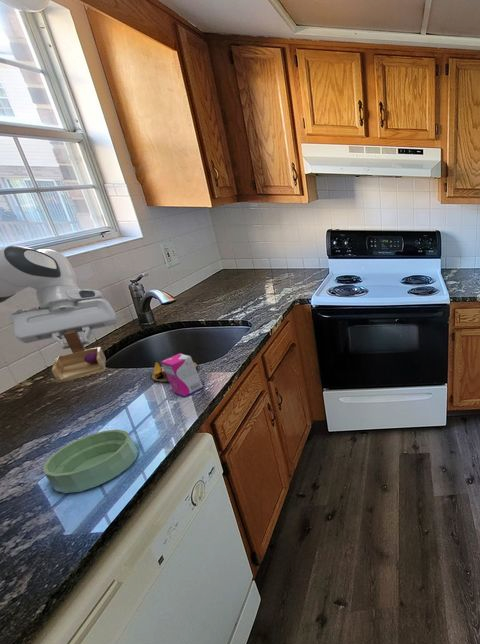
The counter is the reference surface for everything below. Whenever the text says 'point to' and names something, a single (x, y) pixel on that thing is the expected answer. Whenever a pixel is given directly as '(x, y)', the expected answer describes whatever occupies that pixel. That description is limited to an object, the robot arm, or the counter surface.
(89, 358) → the ball
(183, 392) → the supplement box
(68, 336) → the scoop
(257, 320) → the counter surface
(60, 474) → the bowl
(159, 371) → the toy sandwich meal
